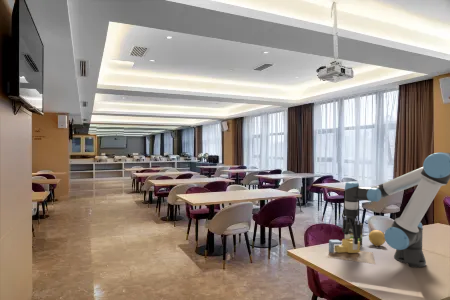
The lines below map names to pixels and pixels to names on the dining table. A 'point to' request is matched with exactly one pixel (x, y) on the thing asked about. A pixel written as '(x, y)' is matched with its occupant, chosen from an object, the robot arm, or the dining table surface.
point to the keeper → (331, 245)
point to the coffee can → (360, 232)
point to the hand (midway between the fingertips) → (350, 247)
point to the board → (354, 256)
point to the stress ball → (377, 237)
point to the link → (347, 246)
